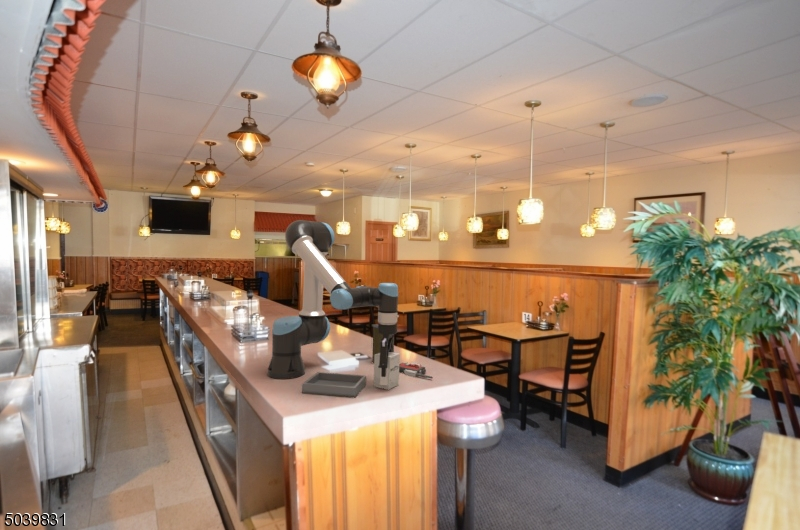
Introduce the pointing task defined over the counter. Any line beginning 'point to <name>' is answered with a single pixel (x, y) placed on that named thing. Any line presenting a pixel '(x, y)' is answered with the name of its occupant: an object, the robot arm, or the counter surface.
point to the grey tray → (334, 384)
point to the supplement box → (392, 370)
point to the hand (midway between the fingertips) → (386, 380)
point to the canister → (376, 340)
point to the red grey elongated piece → (413, 370)
